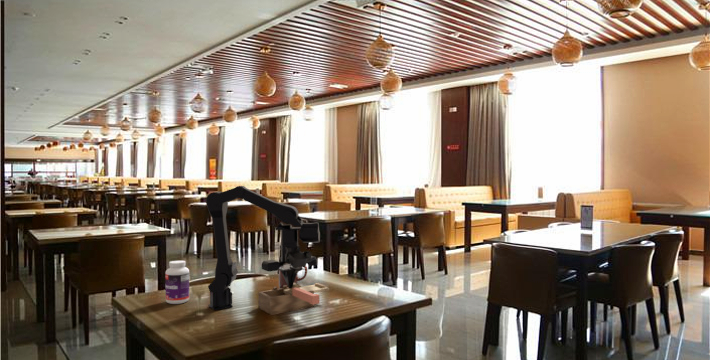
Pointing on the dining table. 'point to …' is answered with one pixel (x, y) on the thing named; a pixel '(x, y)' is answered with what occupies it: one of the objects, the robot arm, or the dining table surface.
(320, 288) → the sliding box lid
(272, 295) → the toolbox
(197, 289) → the dining table surface
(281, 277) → the mug
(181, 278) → the pill bottle
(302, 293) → the salmon pink rectangular bar
